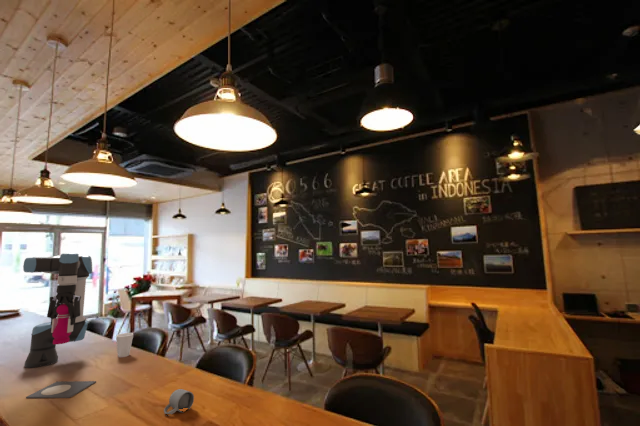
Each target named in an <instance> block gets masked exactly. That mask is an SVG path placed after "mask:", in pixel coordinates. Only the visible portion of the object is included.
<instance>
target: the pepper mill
mask: <svg viewBox="0 0 640 426" xmlns="http://www.w3.org/2000/svg"><path fill="white" fill-rule="evenodd" d="M56 311H57V313H58V315H57V318H58V323H57V325H56V327H55V329H54V331H53V334H52V336H53V337H54V338H55V339H54V340H53V344H56V345H64V344H67V343H70V342H69V339H70V338H69V335H70V334H71V332H69V333H67V329H68V319H69V317H70V315H69V311H68V307H67V306H66V304H64V303H63V304H62V305H60V306H58V307H57V310H56Z"/></svg>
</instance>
